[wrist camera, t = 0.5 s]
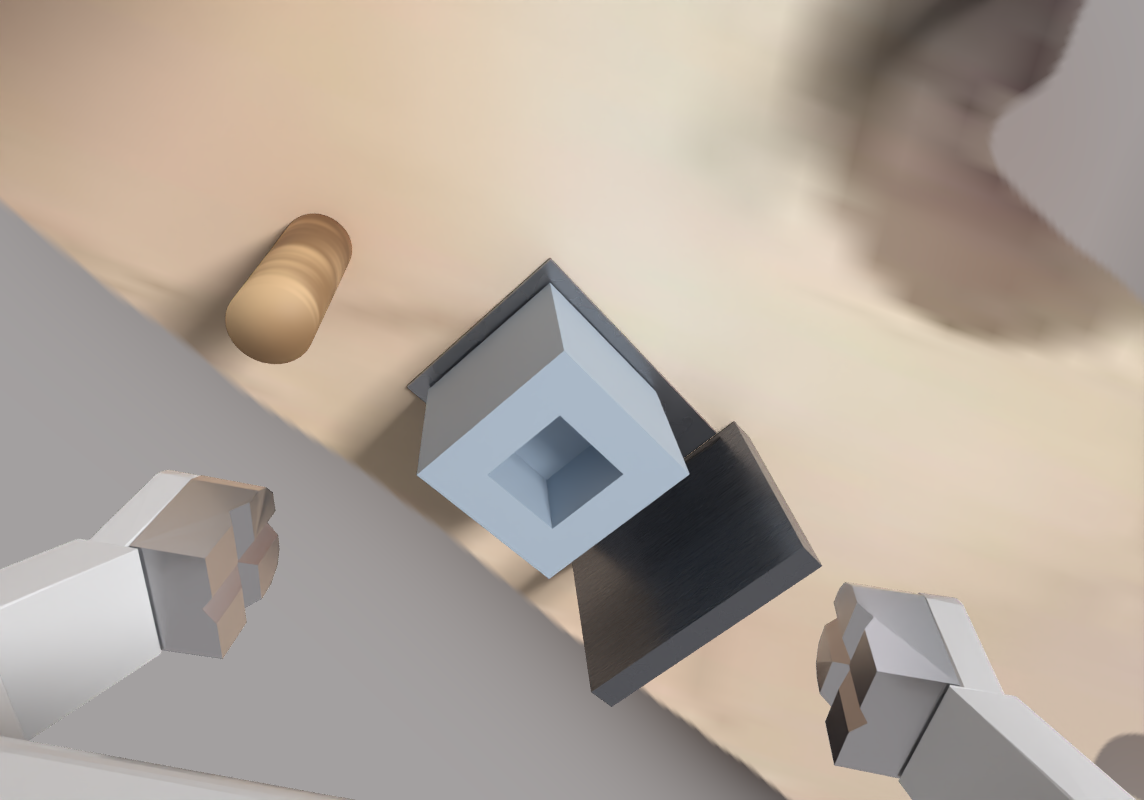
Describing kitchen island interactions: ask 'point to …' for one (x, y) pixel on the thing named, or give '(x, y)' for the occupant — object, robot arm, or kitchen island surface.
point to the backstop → (667, 528)
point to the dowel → (290, 291)
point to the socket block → (547, 435)
